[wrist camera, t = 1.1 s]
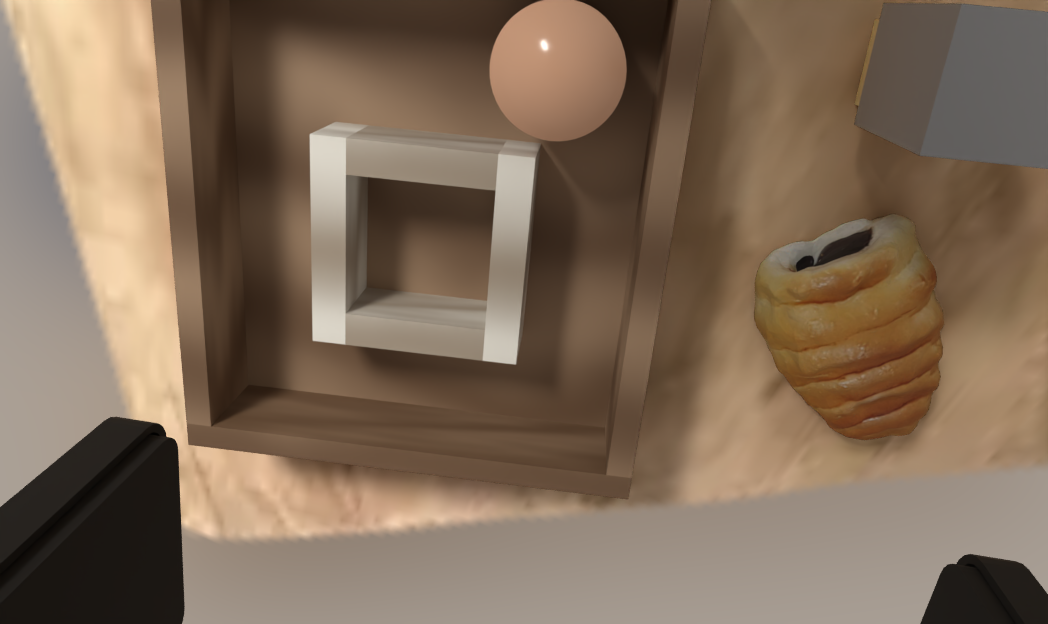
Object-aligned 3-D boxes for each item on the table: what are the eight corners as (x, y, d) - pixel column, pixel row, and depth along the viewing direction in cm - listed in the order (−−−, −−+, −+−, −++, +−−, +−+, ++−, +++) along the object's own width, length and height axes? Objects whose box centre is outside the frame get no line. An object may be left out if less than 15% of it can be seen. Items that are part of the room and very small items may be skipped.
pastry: (956, 392, 33) (999, 439, 30) (801, 442, 35) (823, 493, 31) (896, 194, 31) (935, 220, 27) (730, 259, 32) (746, 291, 29)
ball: (507, -8, 28) (494, -9, 24) (630, 4, 28) (636, 5, 24) (498, 117, 30) (484, 134, 26) (614, 129, 30) (616, 148, 26)
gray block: (864, 2, 28) (962, 4, 21) (978, 13, 28) (1118, 18, 20) (837, 116, 29) (919, 155, 22) (945, 127, 29) (1064, 170, 22)
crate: (207, -90, 29) (142, -105, 24) (701, -44, 28) (719, -51, 24) (235, 393, 36) (188, 444, 32) (624, 440, 35) (628, 499, 31)
